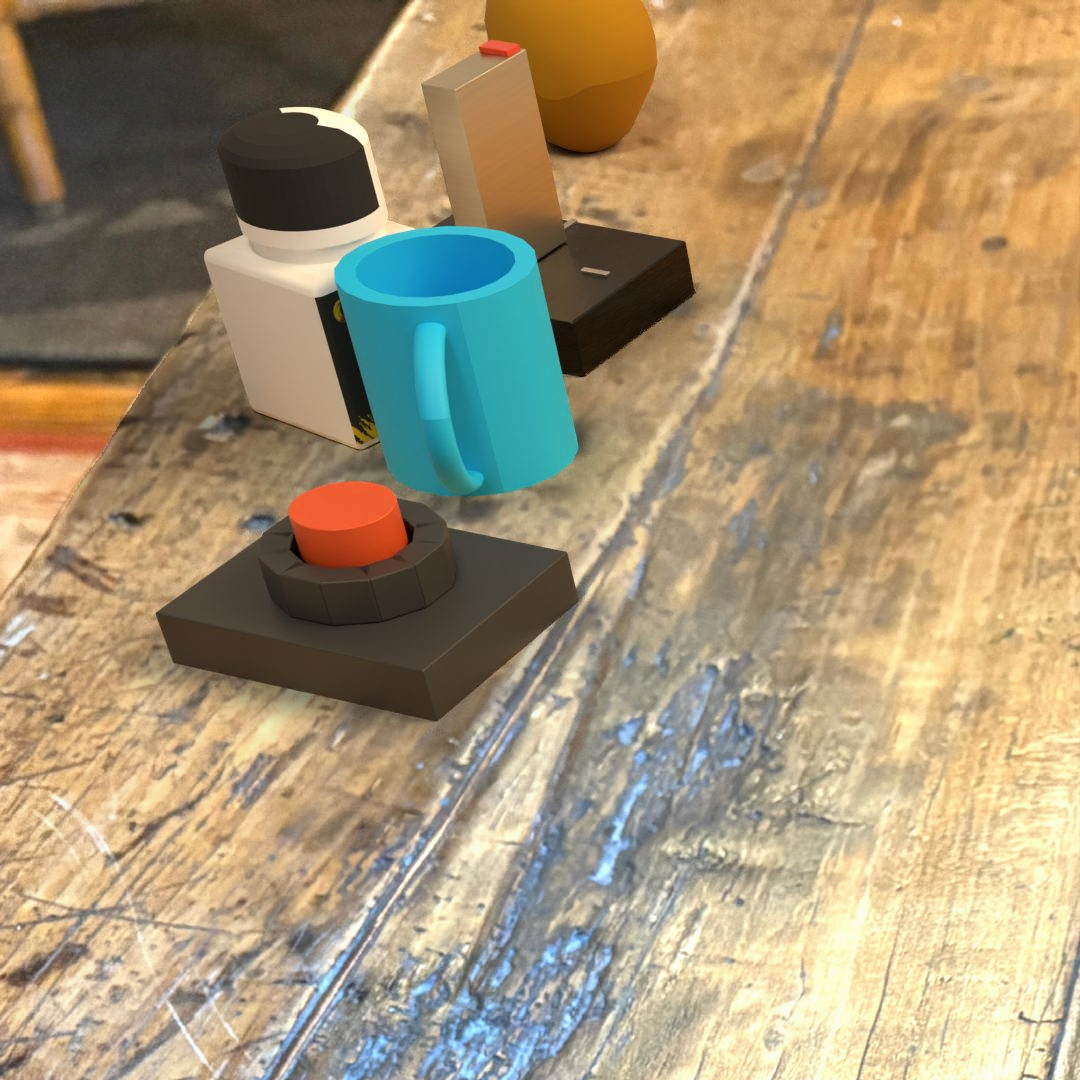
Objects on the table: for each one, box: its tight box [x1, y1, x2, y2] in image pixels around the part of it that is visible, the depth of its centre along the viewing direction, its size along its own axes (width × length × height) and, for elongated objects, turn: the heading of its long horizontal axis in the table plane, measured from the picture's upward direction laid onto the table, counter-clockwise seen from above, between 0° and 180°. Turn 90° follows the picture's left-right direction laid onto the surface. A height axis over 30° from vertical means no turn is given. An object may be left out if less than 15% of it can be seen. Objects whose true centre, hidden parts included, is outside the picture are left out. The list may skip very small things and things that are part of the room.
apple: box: [484, 0, 658, 153], centre depth 138 cm, size 8×8×9 cm
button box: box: [155, 497, 579, 722], centre depth 104 cm, size 12×10×4 cm
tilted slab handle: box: [420, 40, 567, 260], centre depth 121 cm, size 6×2×9 cm, turn 160°
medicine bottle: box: [203, 106, 415, 451], centre depth 115 cm, size 7×7×12 cm
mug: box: [334, 226, 580, 498], centre depth 112 cm, size 12×8×8 cm
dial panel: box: [432, 213, 696, 377], centre depth 125 cm, size 12×10×3 cm
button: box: [287, 480, 408, 568], centre depth 102 cm, size 4×4×2 cm
